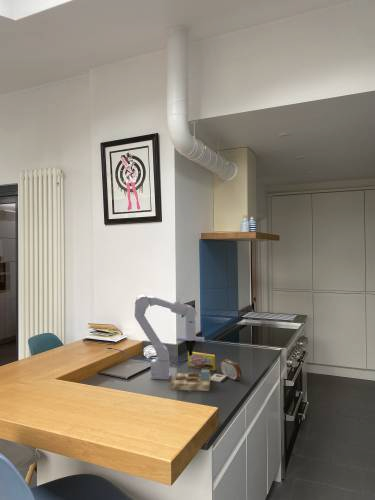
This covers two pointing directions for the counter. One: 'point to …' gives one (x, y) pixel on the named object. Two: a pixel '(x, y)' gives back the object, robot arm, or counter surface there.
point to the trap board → (189, 382)
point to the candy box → (201, 361)
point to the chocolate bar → (218, 376)
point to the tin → (231, 369)
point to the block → (205, 374)
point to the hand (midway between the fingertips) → (190, 355)
